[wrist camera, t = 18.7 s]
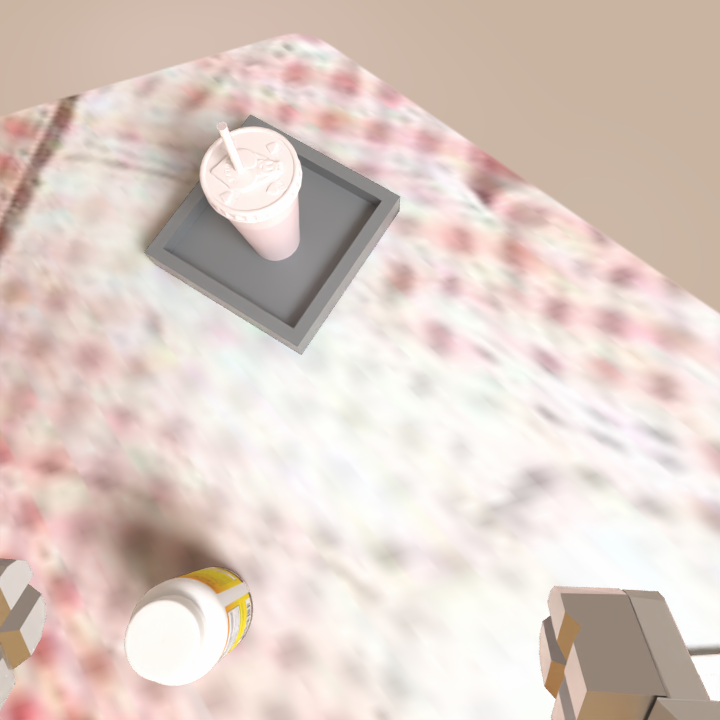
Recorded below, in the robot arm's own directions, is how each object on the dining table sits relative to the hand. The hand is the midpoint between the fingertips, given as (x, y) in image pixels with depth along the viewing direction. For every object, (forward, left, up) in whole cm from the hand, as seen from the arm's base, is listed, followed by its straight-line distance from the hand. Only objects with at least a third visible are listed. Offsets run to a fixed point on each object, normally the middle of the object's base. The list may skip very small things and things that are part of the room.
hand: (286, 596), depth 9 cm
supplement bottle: (-6, -10, -34) cm, 35 cm away
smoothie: (-17, +15, -33) cm, 40 cm away
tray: (-18, +15, -33) cm, 41 cm away
